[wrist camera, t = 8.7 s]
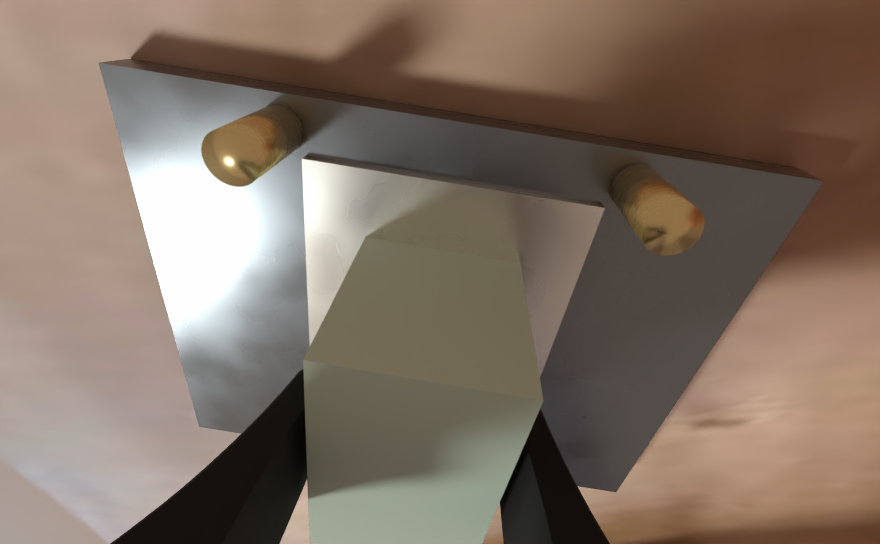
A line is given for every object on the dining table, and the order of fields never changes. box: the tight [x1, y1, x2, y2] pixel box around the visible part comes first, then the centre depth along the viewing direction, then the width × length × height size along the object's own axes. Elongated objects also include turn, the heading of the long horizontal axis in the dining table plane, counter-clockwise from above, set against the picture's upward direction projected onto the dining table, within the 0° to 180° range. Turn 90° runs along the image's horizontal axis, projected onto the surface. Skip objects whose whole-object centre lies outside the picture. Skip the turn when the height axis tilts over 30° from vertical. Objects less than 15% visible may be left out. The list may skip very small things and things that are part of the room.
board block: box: [303, 236, 544, 544], centre depth 12 cm, size 4×7×5 cm, turn 171°
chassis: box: [99, 59, 824, 492], centre depth 13 cm, size 18×14×4 cm
